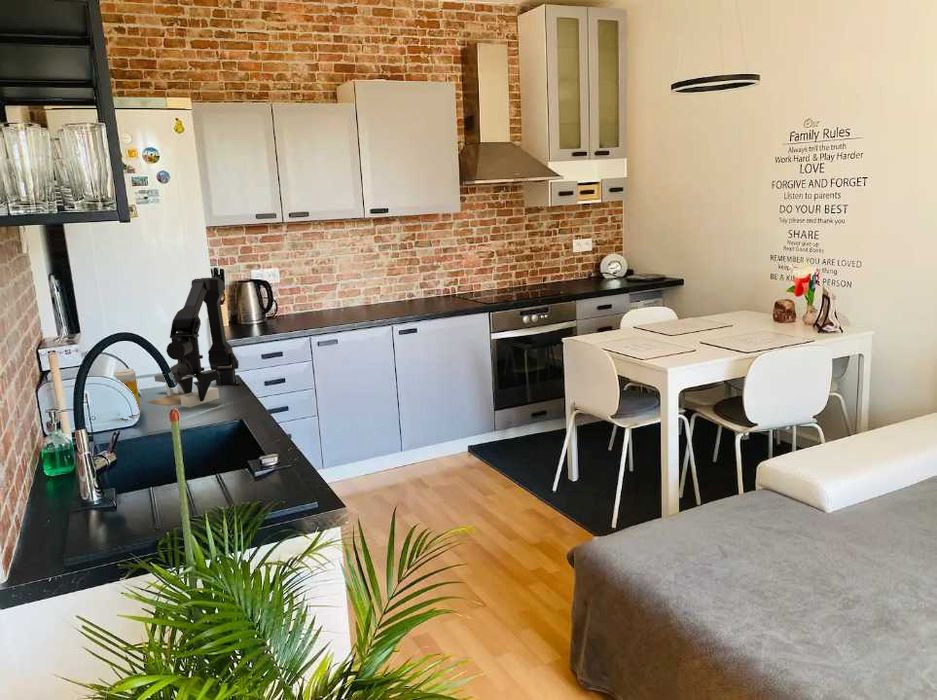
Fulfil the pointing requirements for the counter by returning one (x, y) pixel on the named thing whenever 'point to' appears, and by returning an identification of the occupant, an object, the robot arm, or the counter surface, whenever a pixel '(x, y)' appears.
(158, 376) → the clamp bar
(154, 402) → the walnut board
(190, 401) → the block
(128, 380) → the beer glass
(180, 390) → the bolt bracket
